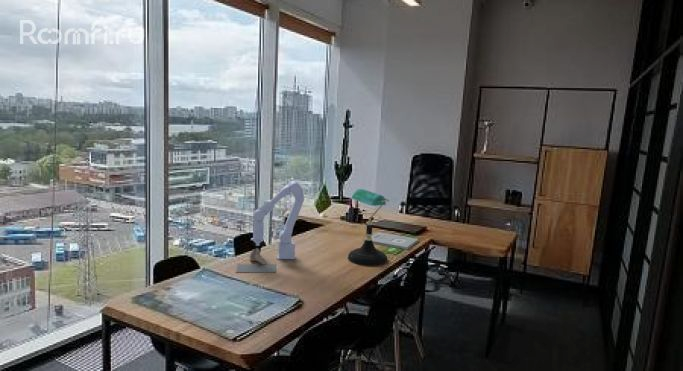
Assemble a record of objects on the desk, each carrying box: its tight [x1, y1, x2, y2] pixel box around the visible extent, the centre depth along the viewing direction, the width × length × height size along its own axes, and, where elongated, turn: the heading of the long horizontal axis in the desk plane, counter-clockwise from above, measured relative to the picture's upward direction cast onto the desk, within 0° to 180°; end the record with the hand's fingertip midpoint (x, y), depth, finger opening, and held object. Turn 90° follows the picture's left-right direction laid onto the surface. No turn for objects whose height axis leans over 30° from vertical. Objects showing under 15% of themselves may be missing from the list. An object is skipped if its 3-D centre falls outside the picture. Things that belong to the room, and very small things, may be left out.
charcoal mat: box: [235, 263, 277, 274], centre depth 227 cm, size 20×12×1 cm, turn 99°
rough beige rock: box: [249, 248, 266, 265], centre depth 236 cm, size 6×14×7 cm, turn 29°
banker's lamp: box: [347, 188, 390, 267], centre depth 248 cm, size 26×23×40 cm
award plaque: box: [363, 231, 419, 251], centre depth 292 cm, size 25×30×2 cm
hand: (257, 254), depth 244 cm, fingers closed
